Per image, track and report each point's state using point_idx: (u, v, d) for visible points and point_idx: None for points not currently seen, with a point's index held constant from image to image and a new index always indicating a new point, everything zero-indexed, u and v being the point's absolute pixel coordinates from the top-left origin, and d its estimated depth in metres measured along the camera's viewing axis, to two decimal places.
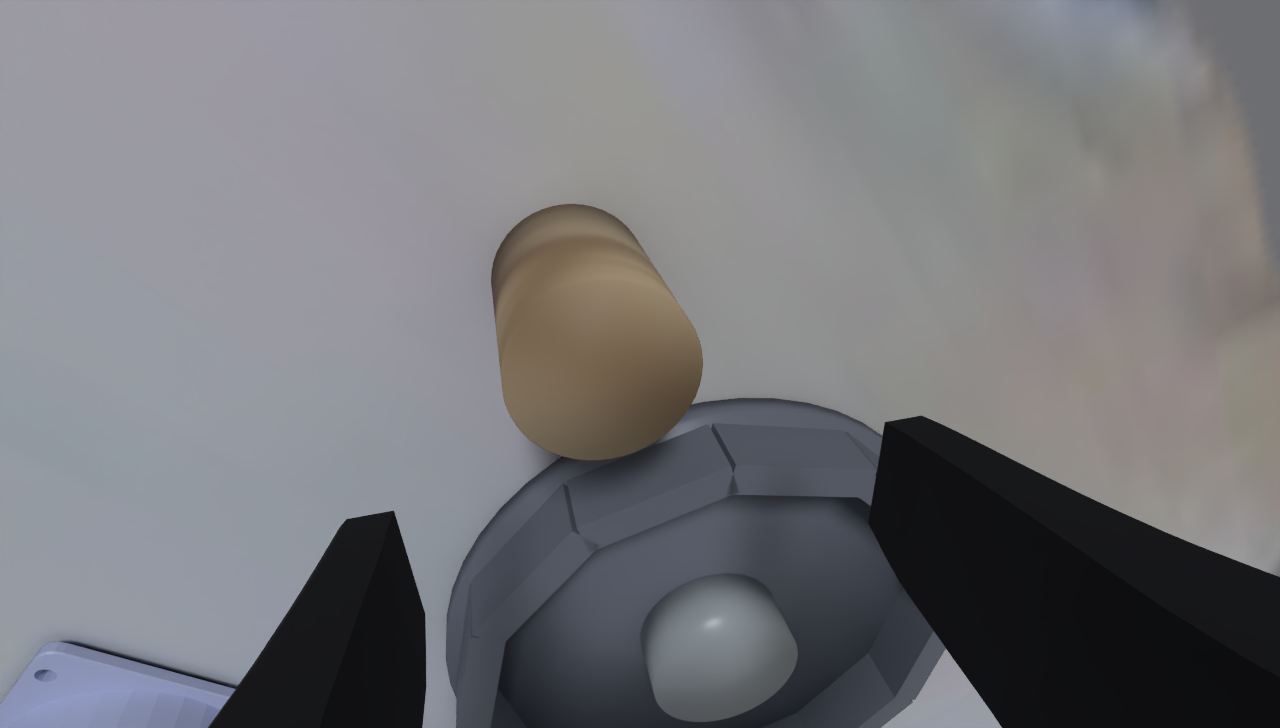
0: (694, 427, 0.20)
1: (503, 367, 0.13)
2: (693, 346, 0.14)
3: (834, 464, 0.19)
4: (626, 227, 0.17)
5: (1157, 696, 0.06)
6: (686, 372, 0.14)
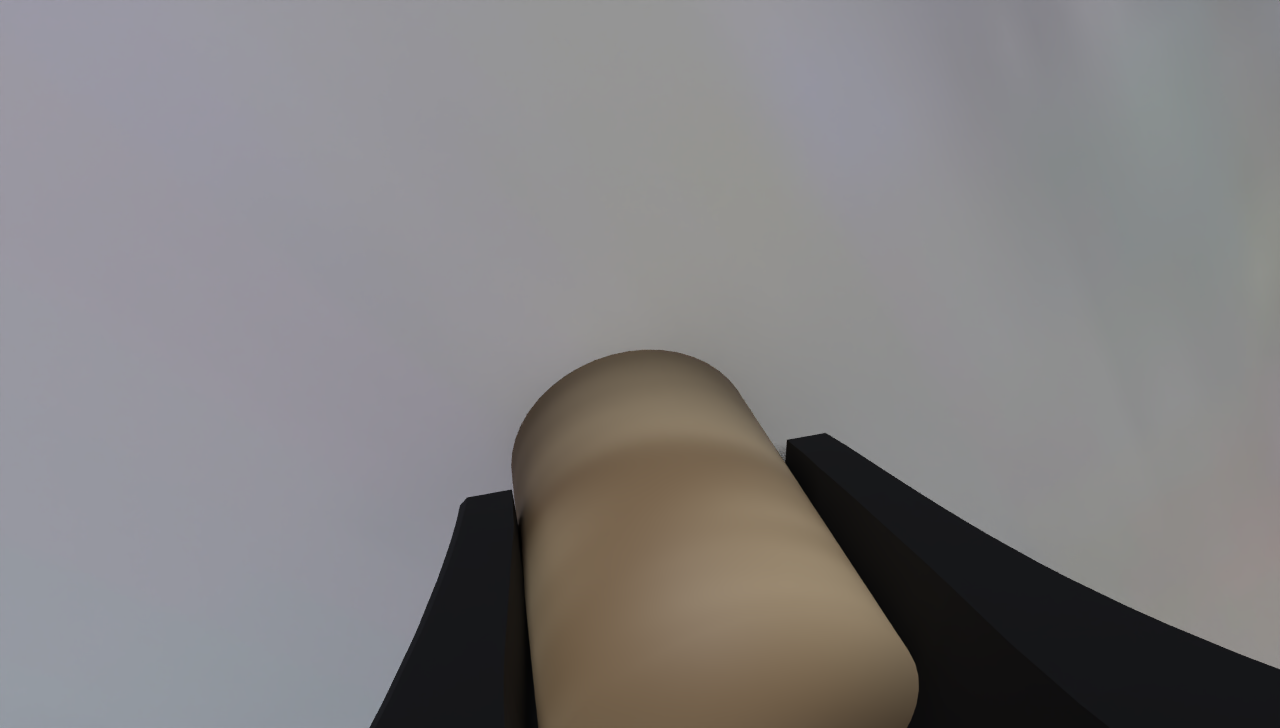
0: None
1: None
2: (904, 685, 0.07)
3: None
4: (728, 382, 0.11)
5: None
6: (884, 721, 0.07)
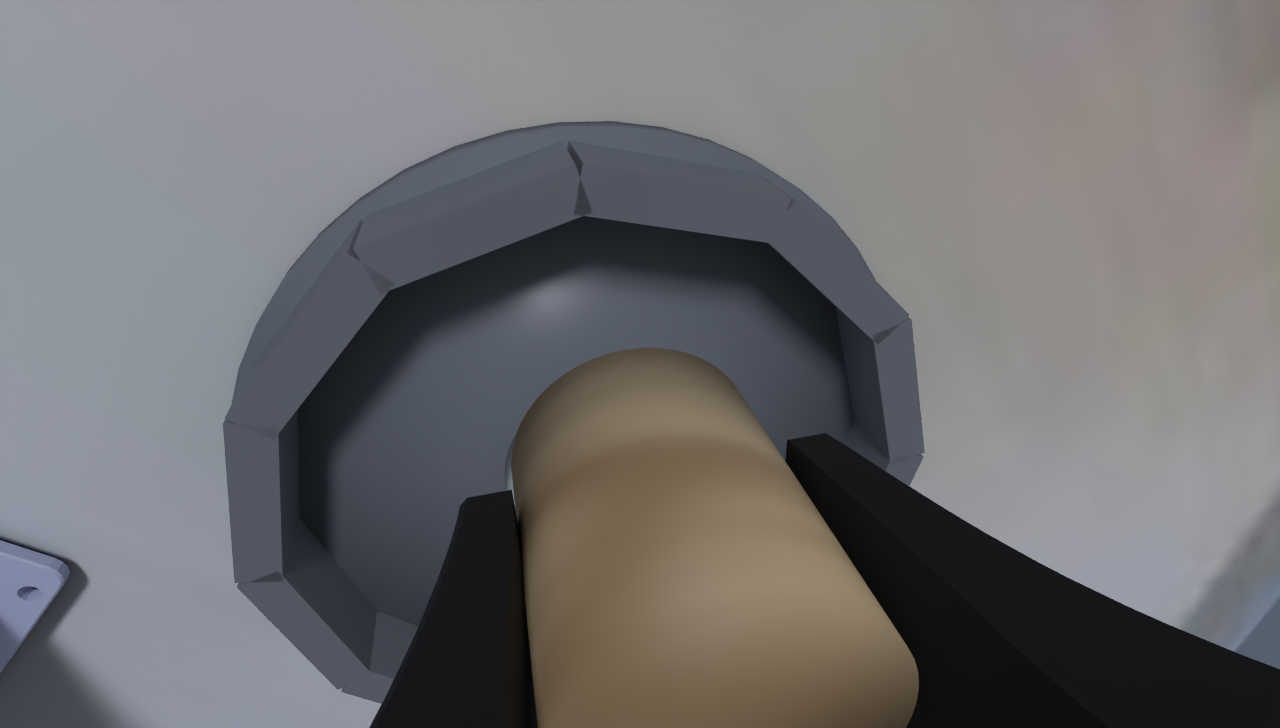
0: (542, 143, 0.14)
1: None
2: (905, 683, 0.07)
3: (731, 187, 0.14)
4: (727, 380, 0.11)
5: None
6: (884, 718, 0.07)
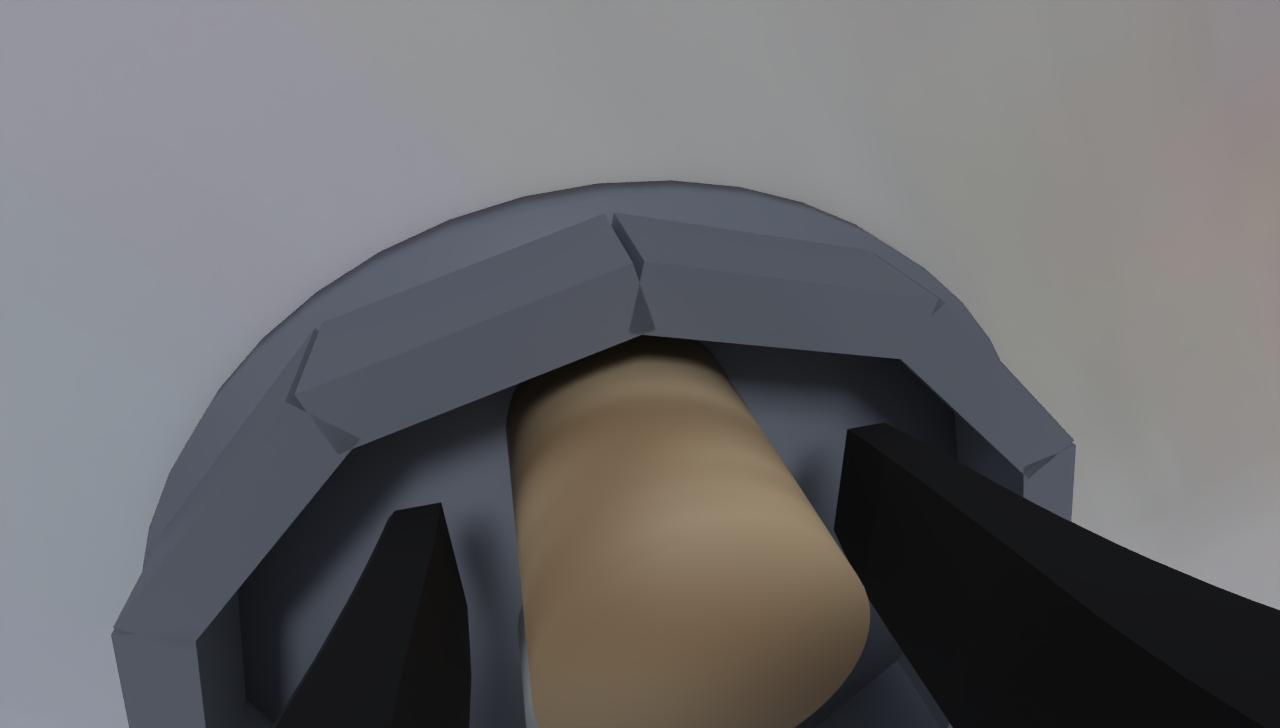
0: (576, 218, 0.10)
1: (535, 672, 0.07)
2: (857, 610, 0.08)
3: (854, 284, 0.10)
4: (707, 351, 0.11)
5: (1101, 712, 0.06)
6: (840, 645, 0.08)
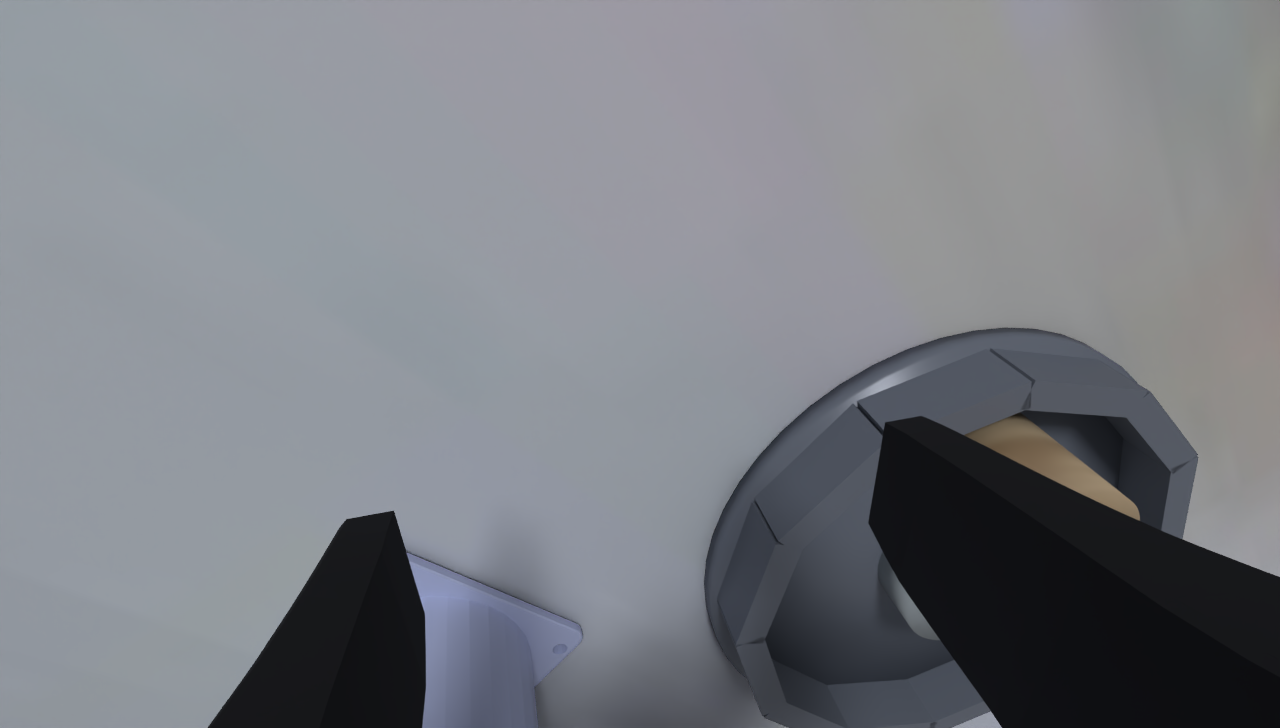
0: (975, 351, 0.21)
1: None
2: None
3: (1110, 384, 0.21)
4: None
5: (1157, 696, 0.06)
6: None
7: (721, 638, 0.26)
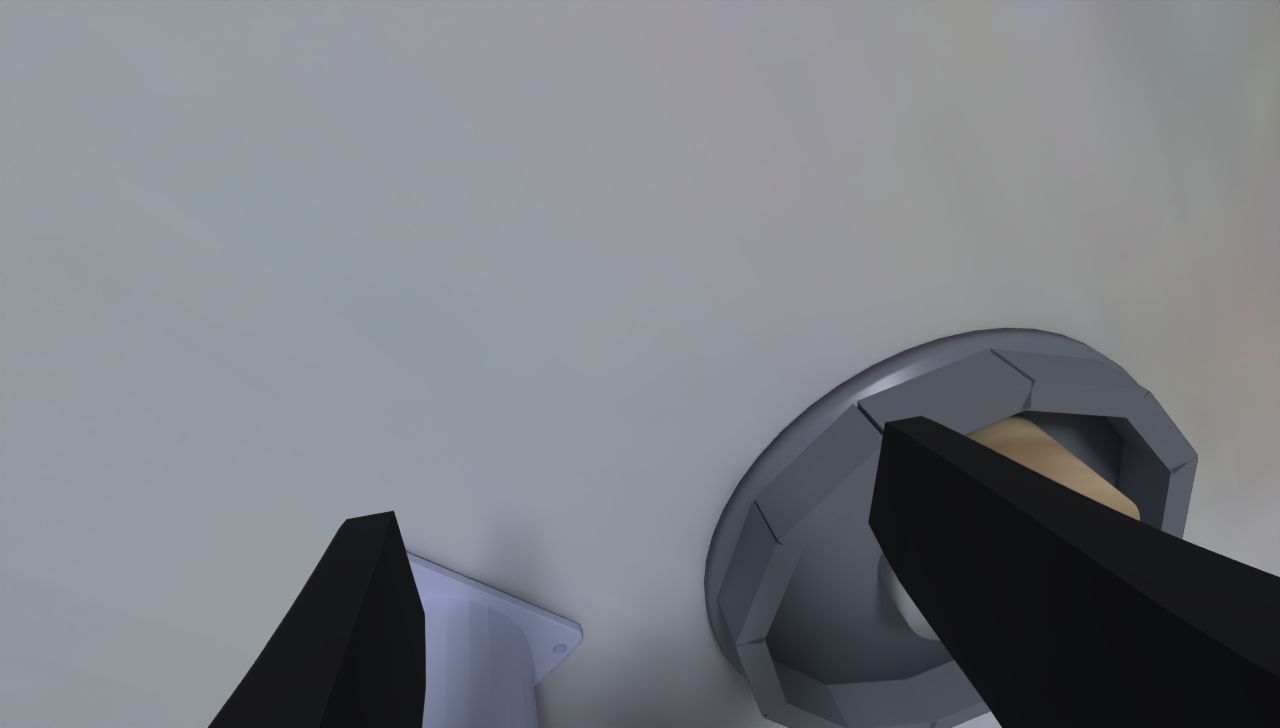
0: (975, 351, 0.21)
1: None
2: None
3: (1110, 384, 0.21)
4: None
5: (1157, 696, 0.06)
6: None
7: (721, 638, 0.26)
